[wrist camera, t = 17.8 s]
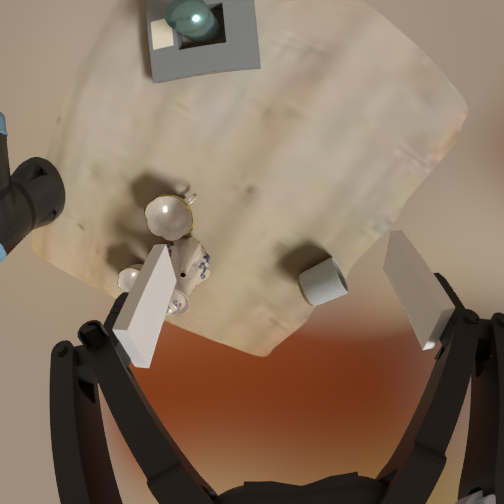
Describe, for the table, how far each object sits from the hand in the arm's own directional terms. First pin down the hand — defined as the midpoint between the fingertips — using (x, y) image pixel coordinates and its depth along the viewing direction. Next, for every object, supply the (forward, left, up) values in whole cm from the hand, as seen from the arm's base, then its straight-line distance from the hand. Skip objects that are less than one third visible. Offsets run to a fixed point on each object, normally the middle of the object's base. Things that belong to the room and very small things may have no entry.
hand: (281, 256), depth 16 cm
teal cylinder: (-8, +20, -33) cm, 39 cm away
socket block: (-8, +20, -33) cm, 39 cm away
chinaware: (-19, -19, -33) cm, 43 cm away
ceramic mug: (+10, -28, -33) cm, 44 cm away
